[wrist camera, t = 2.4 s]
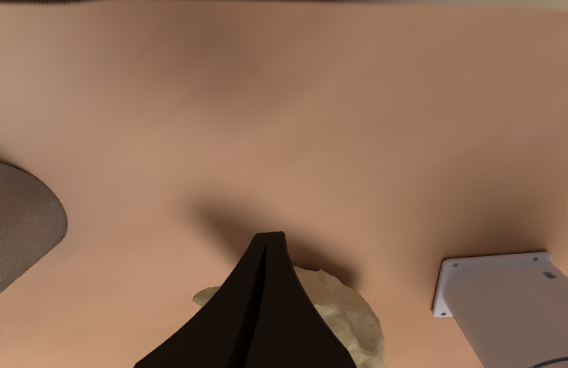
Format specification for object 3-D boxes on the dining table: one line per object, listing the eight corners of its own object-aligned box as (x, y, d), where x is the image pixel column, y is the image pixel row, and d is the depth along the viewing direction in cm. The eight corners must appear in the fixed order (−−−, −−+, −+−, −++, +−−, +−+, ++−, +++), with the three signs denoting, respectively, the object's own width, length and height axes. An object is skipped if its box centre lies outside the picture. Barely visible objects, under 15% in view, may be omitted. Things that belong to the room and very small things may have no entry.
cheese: (372, 301, 31) (442, 305, 17) (352, 369, 28) (416, 440, 14) (256, 247, 33) (234, 212, 19) (228, 304, 31) (180, 312, 17)
